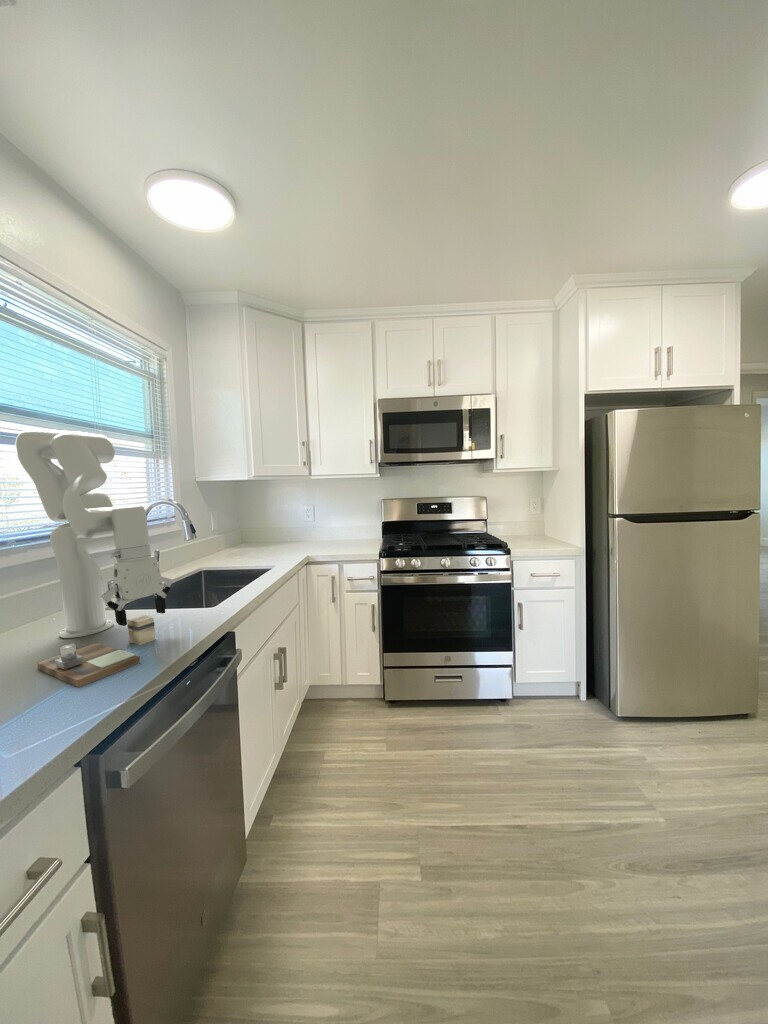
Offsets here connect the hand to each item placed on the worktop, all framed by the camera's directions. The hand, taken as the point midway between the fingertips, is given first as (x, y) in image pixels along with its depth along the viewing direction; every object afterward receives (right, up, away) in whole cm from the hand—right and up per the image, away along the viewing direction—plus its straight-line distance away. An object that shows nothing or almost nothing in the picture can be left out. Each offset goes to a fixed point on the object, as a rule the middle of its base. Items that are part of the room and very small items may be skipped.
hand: (142, 618), depth 104 cm
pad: (+1, -5, -14) cm, 15 cm away
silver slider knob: (-6, -6, -16) cm, 18 cm away
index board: (-4, -7, -13) cm, 16 cm away
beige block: (0, -6, +1) cm, 6 cm away
